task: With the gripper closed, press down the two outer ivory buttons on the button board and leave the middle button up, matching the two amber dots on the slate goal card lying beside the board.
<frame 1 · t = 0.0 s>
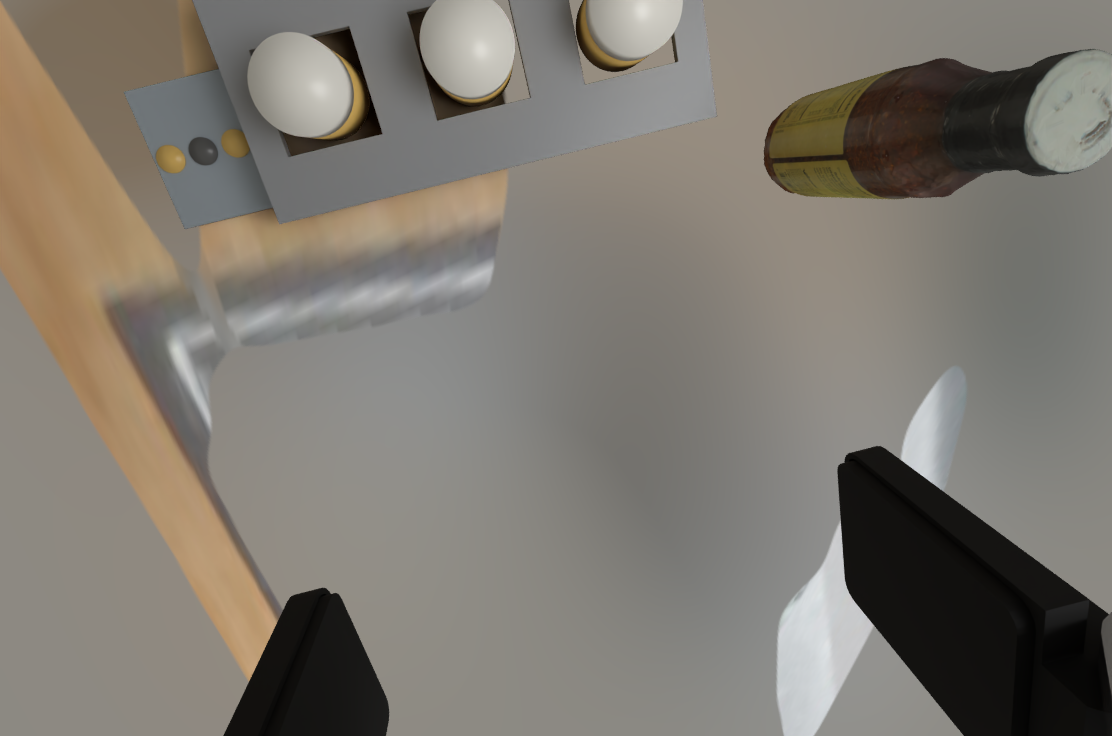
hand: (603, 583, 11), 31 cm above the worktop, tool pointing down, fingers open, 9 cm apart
goal card: (207, 151, 36), on the worktop
sauce bottle: (801, 143, 39), on the worktop
button middle: (470, 54, 31), point 5 cm above the worktop, slide at 0.0 cm
button board: (473, 67, 35), on the worktop
button 1: (314, 92, 31), point 5 cm above the worktop, slide at 0.0 cm
button 2: (625, 16, 31), point 5 cm above the worktop, slide at 0.0 cm
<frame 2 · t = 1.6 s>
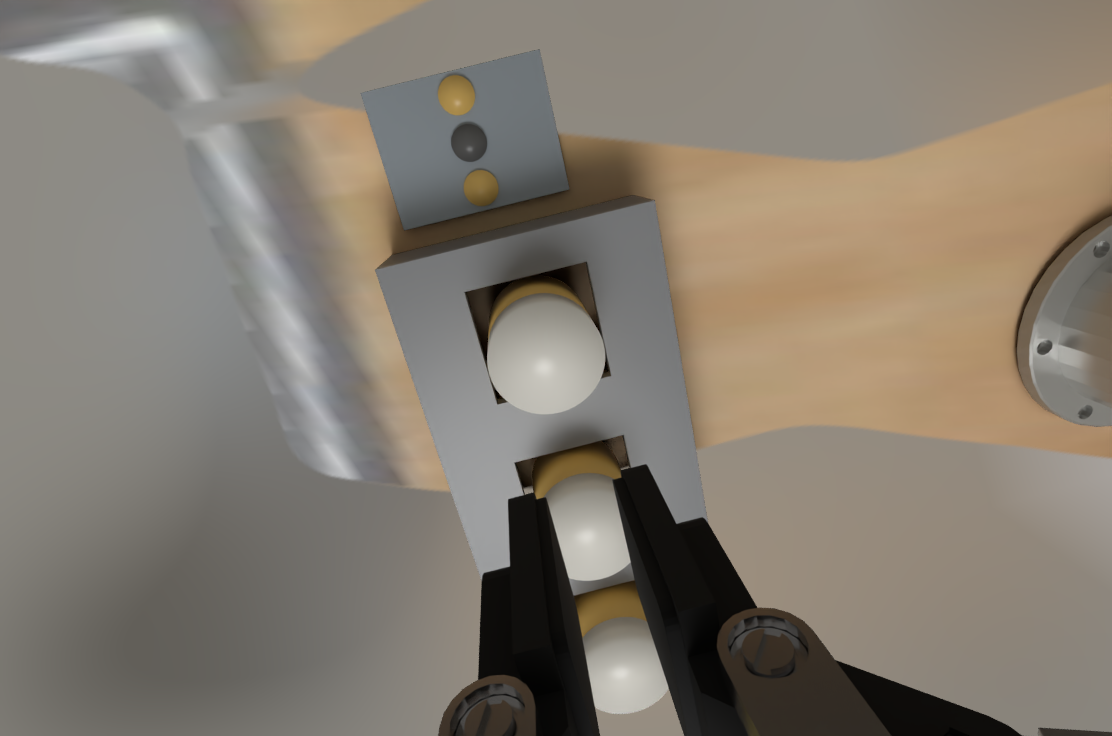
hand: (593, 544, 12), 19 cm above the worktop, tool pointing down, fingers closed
goal card: (469, 143, 27), on the worktop
button middle: (582, 503, 28), point 5 cm above the worktop, slide at 0.0 cm
button board: (571, 456, 33), on the worktop
button 1: (541, 339, 25), point 5 cm above the worktop, slide at 0.0 cm
button 2: (616, 635, 31), point 5 cm above the worktop, slide at 0.0 cm
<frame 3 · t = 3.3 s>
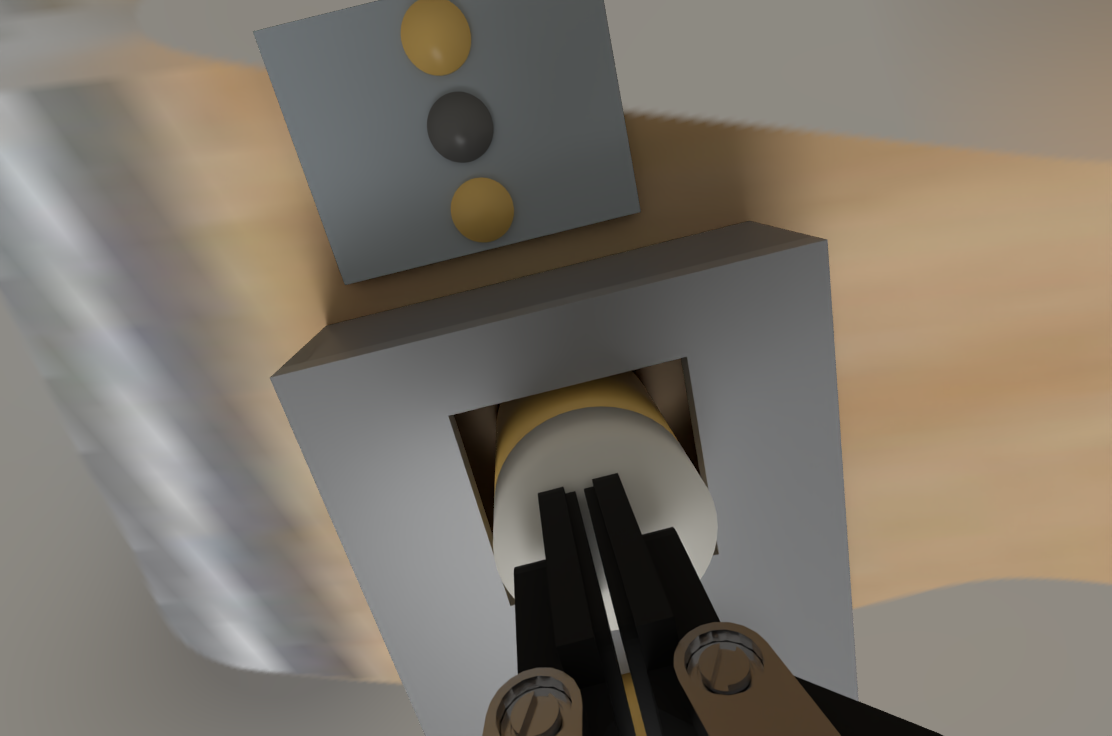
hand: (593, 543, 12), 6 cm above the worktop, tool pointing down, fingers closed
goal card: (461, 129, 15), on the worktop
button board: (625, 631, 20), on the worktop
button 1: (588, 473, 14), point 3 cm above the worktop, slide at 1.4 cm, touching gripper
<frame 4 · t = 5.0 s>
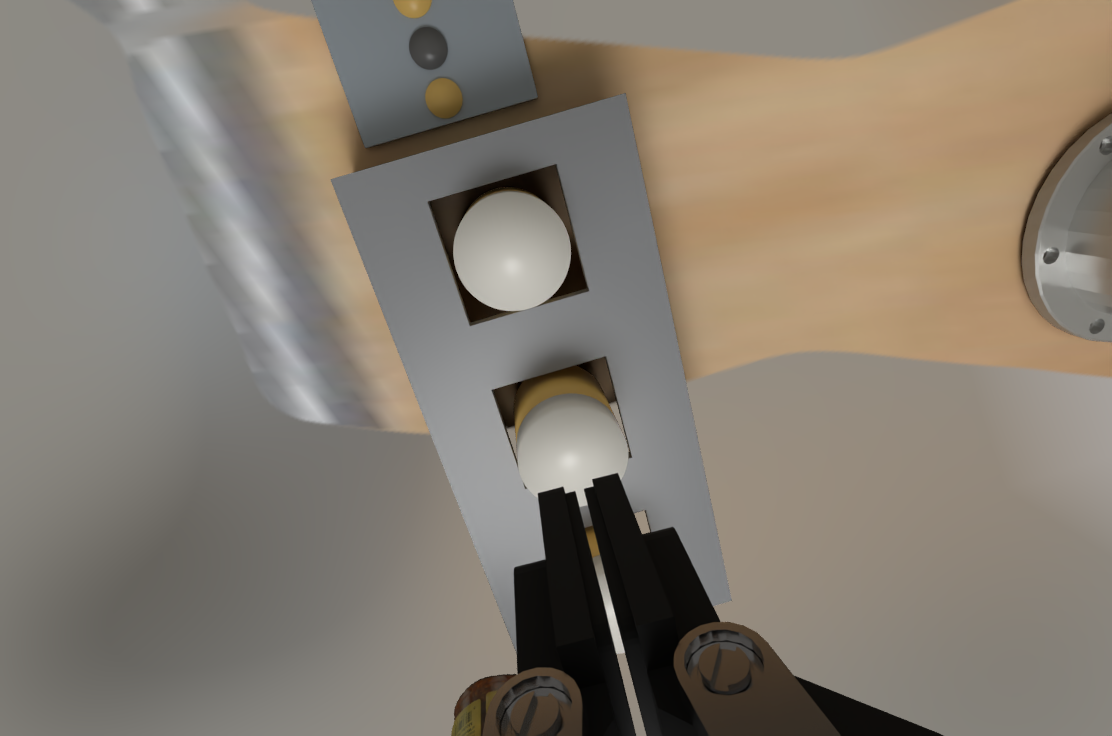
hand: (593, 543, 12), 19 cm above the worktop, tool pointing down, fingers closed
goal card: (429, 50, 25), on the worktop
sauce bottle: (504, 700, 38), on the worktop
button middle: (565, 430, 27), point 5 cm above the worktop, slide at 0.0 cm
button board: (555, 392, 31), on the worktop
button 1: (510, 244, 25), point 3 cm above the worktop, slide at 1.8 cm
button 2: (609, 575, 30), point 5 cm above the worktop, slide at 0.0 cm
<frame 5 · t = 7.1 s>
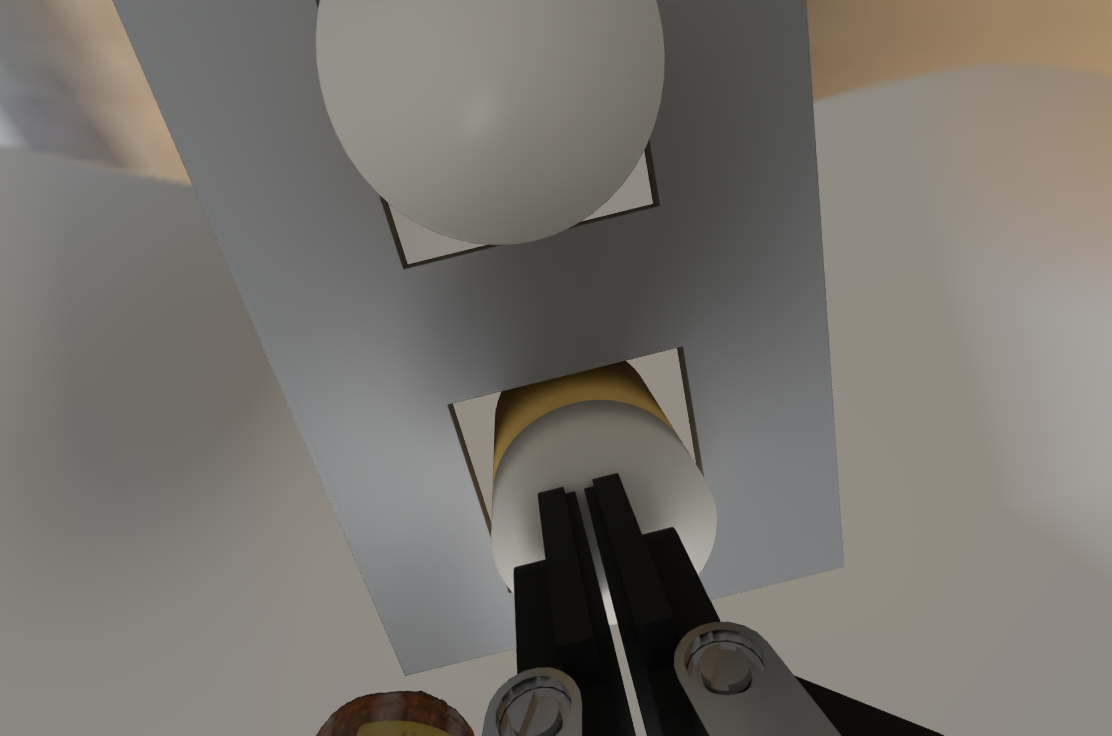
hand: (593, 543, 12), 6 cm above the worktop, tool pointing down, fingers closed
sauce bottle: (404, 734, 22), on the worktop
button middle: (497, 92, 10), point 5 cm above the worktop, slide at 0.0 cm
button board: (498, 111, 15), on the worktop
button 2: (587, 467, 14), point 4 cm above the worktop, slide at 1.1 cm, touching gripper
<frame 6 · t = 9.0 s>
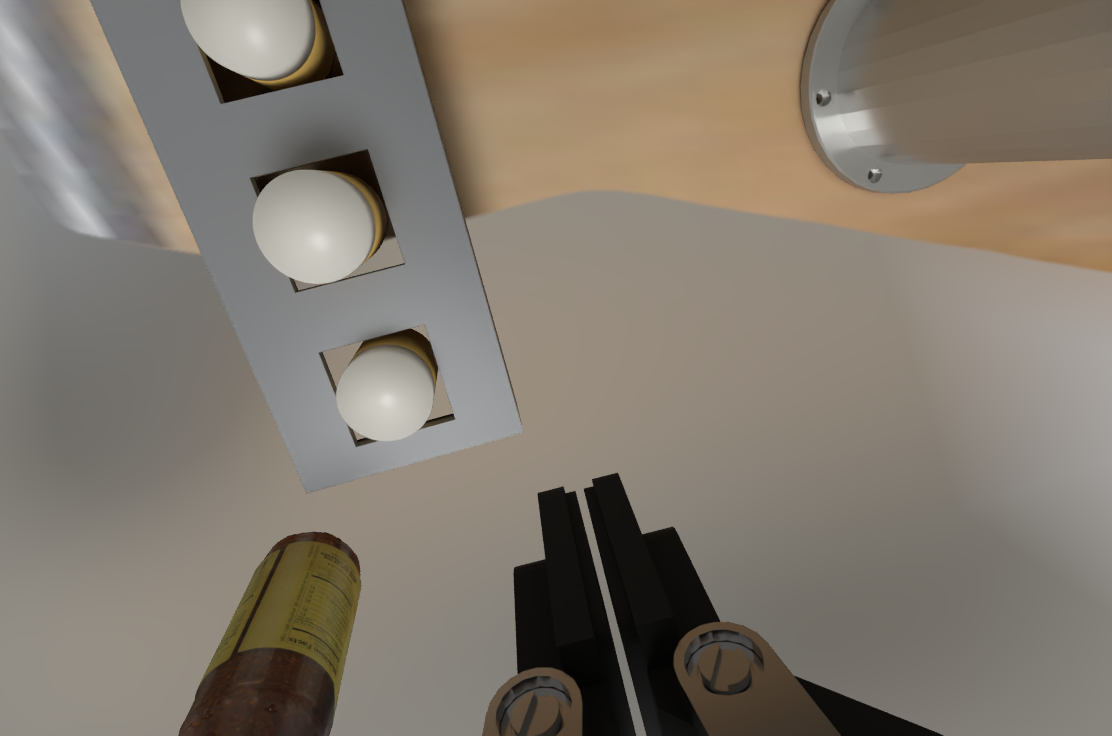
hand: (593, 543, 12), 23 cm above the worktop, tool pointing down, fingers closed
sauce bottle: (318, 564, 37), on the worktop
button middle: (327, 223, 27), point 5 cm above the worktop, slide at 0.0 cm
button board: (347, 217, 31), on the worktop
button 1: (266, 27, 26), point 3 cm above the worktop, slide at 1.8 cm
button 2: (392, 380, 31), point 3 cm above the worktop, slide at 1.8 cm
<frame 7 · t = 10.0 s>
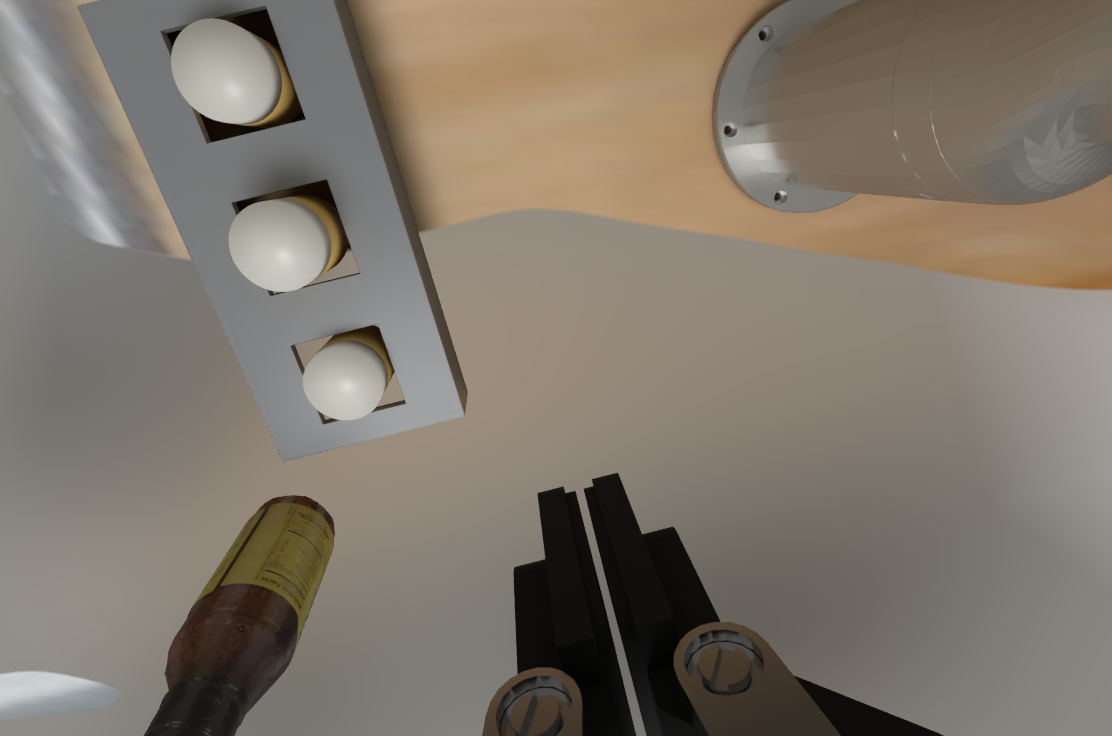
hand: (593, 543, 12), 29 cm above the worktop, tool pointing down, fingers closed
sauce bottle: (299, 523, 44), on the worktop
button middle: (293, 240, 32), point 5 cm above the worktop, slide at 0.0 cm
button board: (318, 231, 37), on the worktop
button 1: (244, 79, 31), point 3 cm above the worktop, slide at 1.8 cm
button 2: (354, 369, 37), point 3 cm above the worktop, slide at 1.8 cm
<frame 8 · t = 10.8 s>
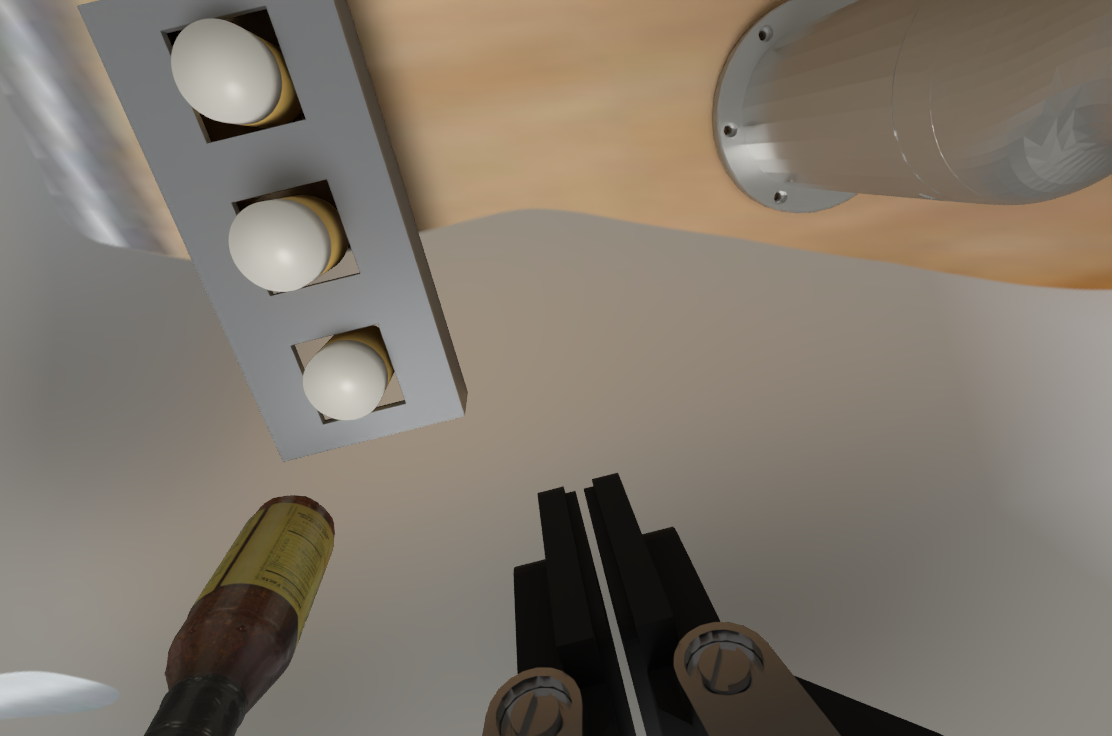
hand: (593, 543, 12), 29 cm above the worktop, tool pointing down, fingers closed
sauce bottle: (299, 523, 44), on the worktop
button middle: (293, 240, 32), point 5 cm above the worktop, slide at 0.0 cm
button board: (318, 231, 37), on the worktop
button 1: (244, 79, 31), point 3 cm above the worktop, slide at 1.8 cm
button 2: (354, 369, 37), point 3 cm above the worktop, slide at 1.8 cm
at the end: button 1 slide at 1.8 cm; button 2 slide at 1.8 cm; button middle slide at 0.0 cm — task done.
